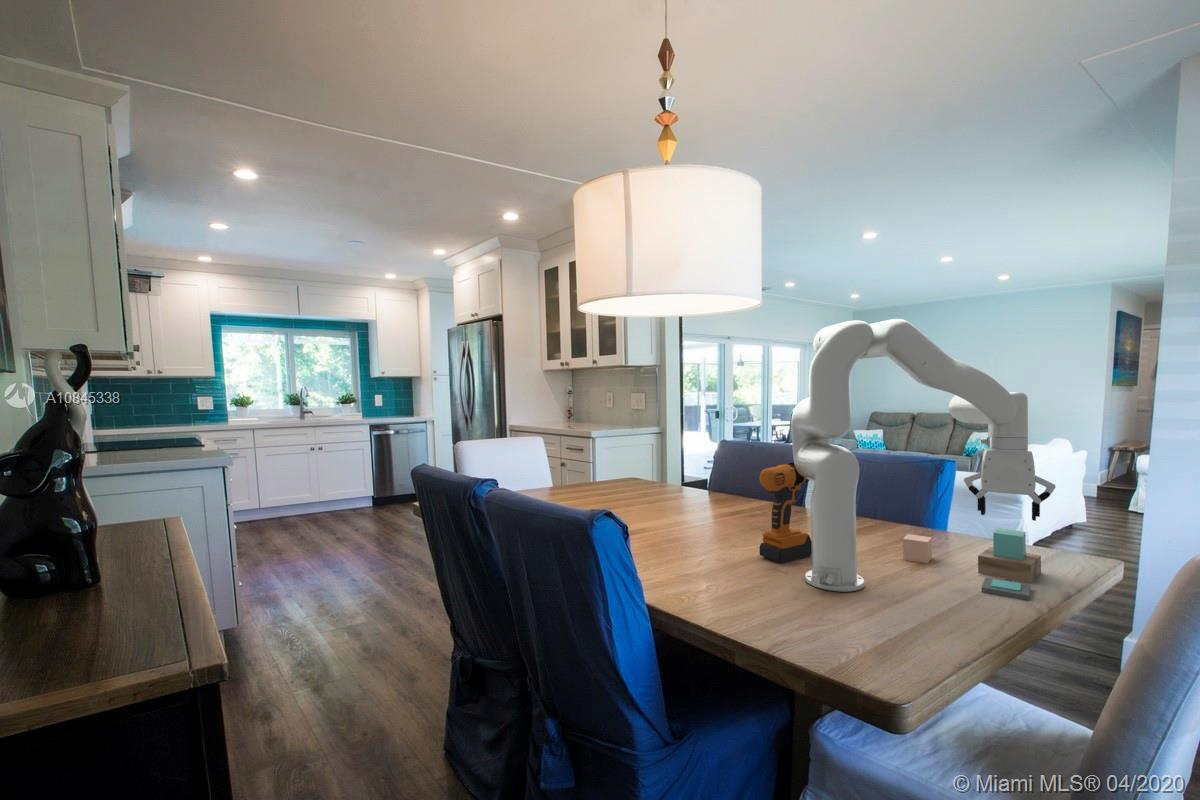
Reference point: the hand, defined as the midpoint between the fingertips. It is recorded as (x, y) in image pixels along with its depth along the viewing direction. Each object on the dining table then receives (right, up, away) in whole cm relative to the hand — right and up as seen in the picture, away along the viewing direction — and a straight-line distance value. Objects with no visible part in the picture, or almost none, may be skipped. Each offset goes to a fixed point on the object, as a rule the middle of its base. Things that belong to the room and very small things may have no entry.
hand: (1008, 516), depth 129 cm
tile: (-8, -14, -11) cm, 19 cm away
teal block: (0, -9, 0) cm, 9 cm away
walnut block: (+1, -14, 0) cm, 14 cm away
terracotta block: (-14, -14, +12) cm, 23 cm away
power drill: (-45, -14, +18) cm, 50 cm away
